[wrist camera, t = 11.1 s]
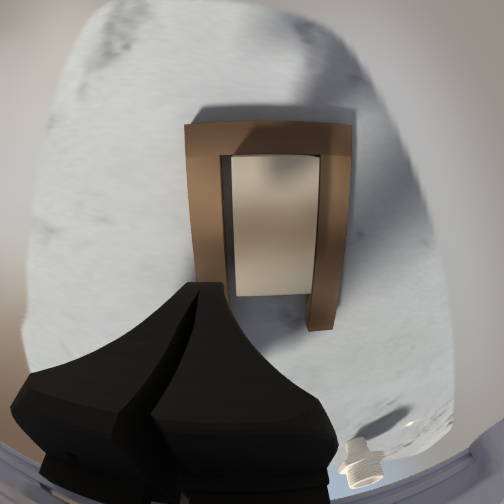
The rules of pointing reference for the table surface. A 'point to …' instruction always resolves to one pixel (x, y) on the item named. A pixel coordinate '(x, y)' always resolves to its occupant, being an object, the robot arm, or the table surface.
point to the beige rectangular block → (274, 222)
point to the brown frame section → (272, 142)
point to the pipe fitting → (361, 464)
